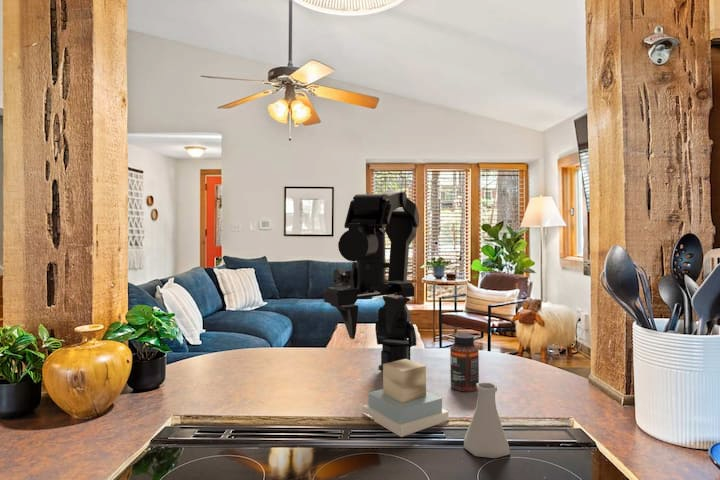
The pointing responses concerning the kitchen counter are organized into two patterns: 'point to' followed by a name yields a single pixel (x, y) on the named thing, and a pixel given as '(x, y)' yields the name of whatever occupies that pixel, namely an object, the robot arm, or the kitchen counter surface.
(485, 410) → the flask
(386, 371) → the maple cube
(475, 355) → the supplement bottle
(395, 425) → the bottom block
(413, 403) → the top block
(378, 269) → the robot arm
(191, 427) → the kitchen counter surface
